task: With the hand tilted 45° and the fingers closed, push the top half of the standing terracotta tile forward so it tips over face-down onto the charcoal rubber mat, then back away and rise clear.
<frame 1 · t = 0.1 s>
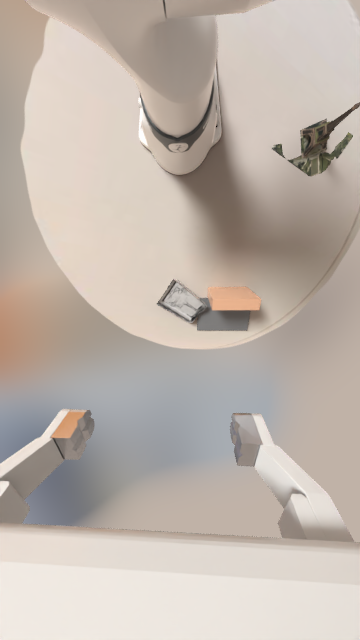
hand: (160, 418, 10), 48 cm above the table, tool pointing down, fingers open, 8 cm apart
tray: (182, 301, 57), on the table, touching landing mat
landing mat: (223, 314, 59), on the table
eiffel tower figurine: (309, 143, 41), on the table
terracotta tile: (226, 291, 56), on the table
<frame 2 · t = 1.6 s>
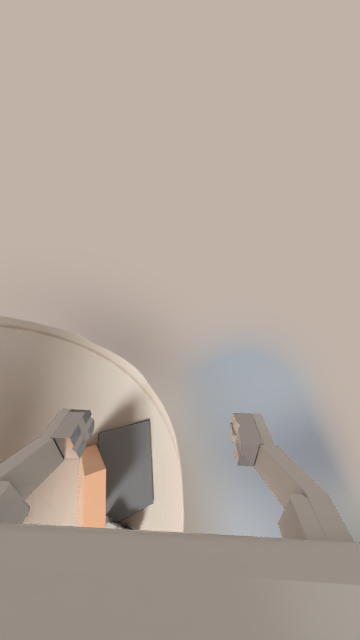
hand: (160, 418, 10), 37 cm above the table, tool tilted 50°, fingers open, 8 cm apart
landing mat: (126, 468, 39), on the table
terracotta tile: (87, 480, 35), on the table
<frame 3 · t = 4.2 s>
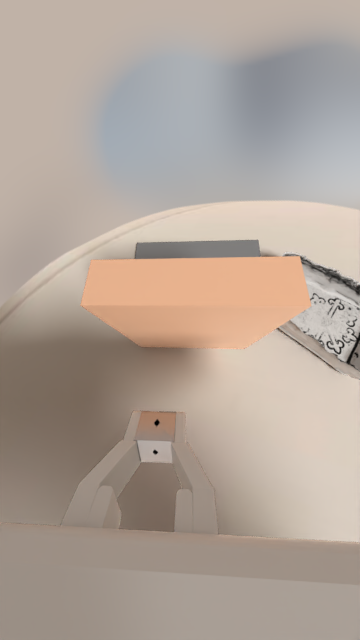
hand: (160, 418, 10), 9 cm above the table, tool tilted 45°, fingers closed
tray: (310, 312, 21), on the table, touching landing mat
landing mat: (196, 278, 23), on the table
terracotta tile: (191, 335, 21), on the table
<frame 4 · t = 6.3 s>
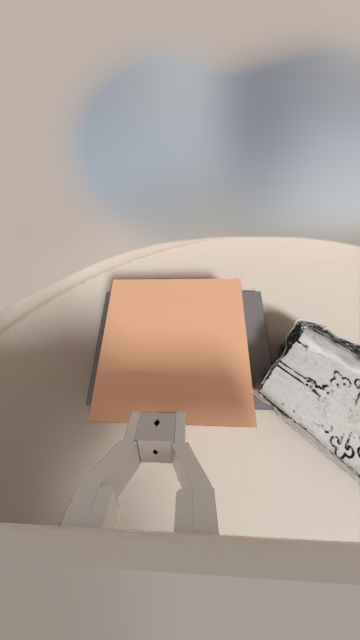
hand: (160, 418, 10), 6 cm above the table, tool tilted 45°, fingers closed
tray: (332, 398, 16), on the table, touching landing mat
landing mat: (181, 344, 18), on the table
terracotta tile: (172, 420, 14), point 2 cm above the table, tilted 90°, touching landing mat
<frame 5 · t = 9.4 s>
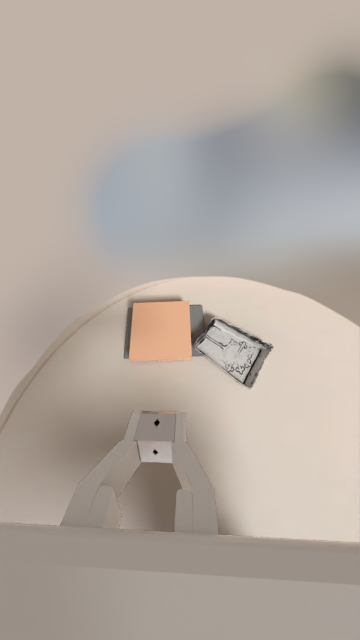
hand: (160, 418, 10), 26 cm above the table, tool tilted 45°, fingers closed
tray: (229, 350, 37), on the table, touching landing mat
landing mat: (165, 331, 39), on the table
terracotta tile: (161, 359, 35), point 2 cm above the table, tilted 90°, touching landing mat
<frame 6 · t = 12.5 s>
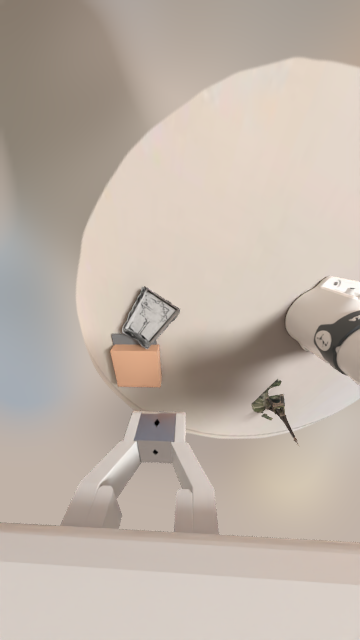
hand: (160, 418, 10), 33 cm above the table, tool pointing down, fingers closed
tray: (149, 316, 44), on the table, touching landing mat
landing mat: (137, 360, 50), on the table
eiffel tower figurine: (273, 398, 55), on the table
terracotta tile: (159, 366, 48), point 2 cm above the table, tilted 90°, touching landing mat
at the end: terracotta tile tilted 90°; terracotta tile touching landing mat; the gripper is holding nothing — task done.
